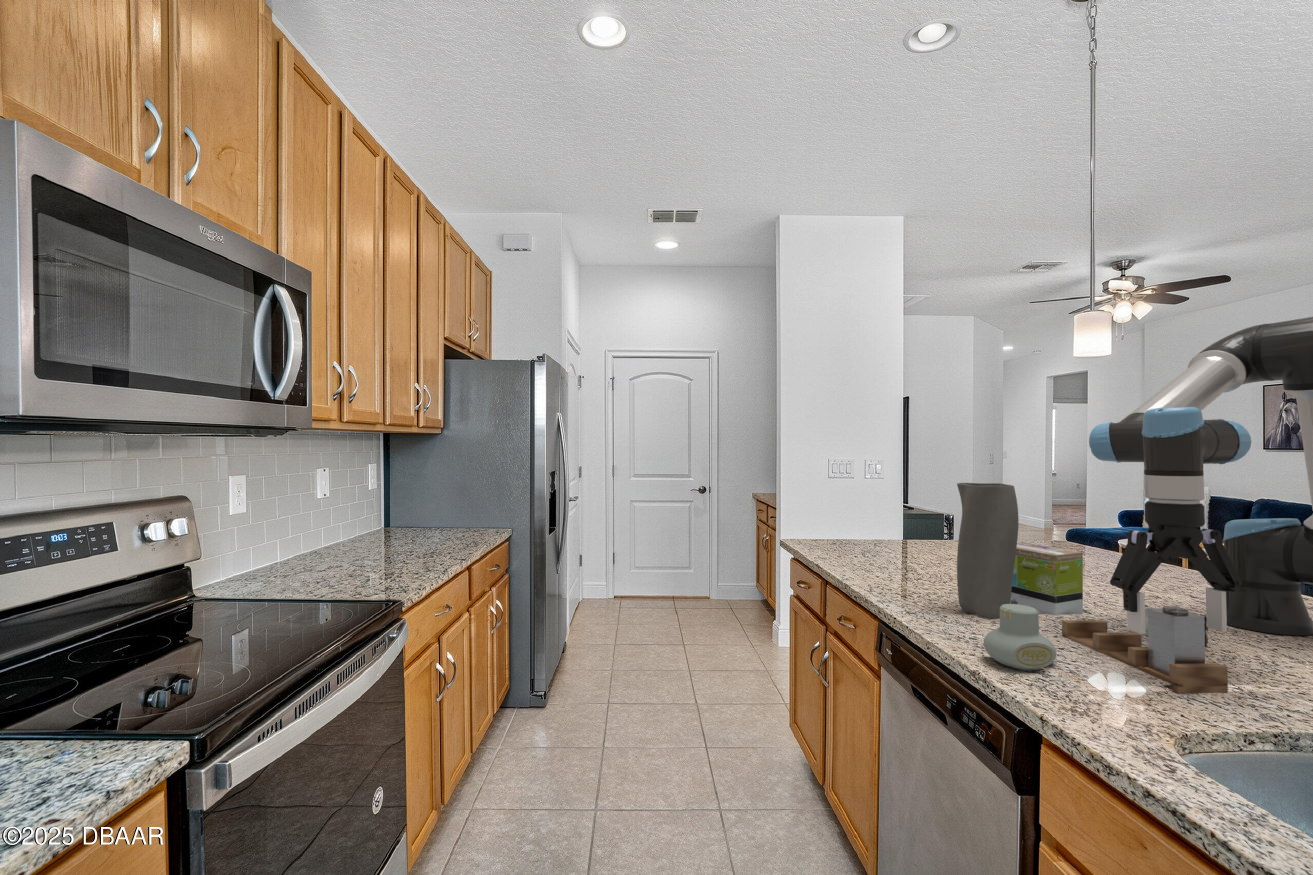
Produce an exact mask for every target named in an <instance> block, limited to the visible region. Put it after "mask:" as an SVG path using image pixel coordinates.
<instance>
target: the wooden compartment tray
mask: <svg viewBox="0 0 1313 875" xmlns="http://www.w3.org/2000/svg"><path fill="white" fill-rule="evenodd" d="M1061 634H1062V635H1061V636H1062V637H1064V638H1066V639H1068V640H1071V641H1074V642H1075V643H1077V644H1079V645H1081V646H1083V647H1087V648H1088V649H1091V650H1094V651H1095V652H1098V653H1100V654H1103V655H1104V656H1107V657H1109V658H1112V659H1114V660H1117V661H1118V662H1120V663H1123V664H1125V665H1128V666H1130V667H1132V668H1134V669H1136V670H1139V671H1141V672H1143V673H1146V674H1148V675H1149V676H1153V677H1155V678H1156V679H1159V680H1161V681H1163V682H1166V683H1168V684H1162V685H1160V686H1162V687H1164V688H1166V689H1168V690H1171V691H1173V692H1175V693H1178V694H1207V693H1208V694H1212V693H1214V694H1215V693H1216V694H1219V693H1220V694H1223V693H1225V694H1226V693H1227V694H1228V693H1229V692H1228V691H1229V689H1228V688H1229V686H1228V681H1229V679H1228V674H1229V673H1228V666H1227V665H1223V664H1221V663H1216V662H1215V663H1211V662H1210V663H1209V662H1208V663H1207V662H1205V664H1169V677H1168V676H1165V675H1163V674H1161V673H1158V672H1156V671H1154V670H1151V669H1149V668H1148V646H1143V645H1142V636H1143V635H1140V634H1137V633H1132V632H1108V622H1107V621H1104V620H1101V619H1097V620H1095V619H1091V620H1090V619H1089V620H1088V619H1085V620H1084V619H1083V620H1082V619H1081V620H1079V619H1078V620H1077V619H1074V620H1073V619H1070V620H1064V619H1063V620H1061Z"/></svg>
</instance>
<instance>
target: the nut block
mask: <svg viewBox="0 0 1313 875" xmlns="http://www.w3.org/2000/svg"><path fill="white" fill-rule="evenodd" d="M1147 647H1148V668H1149V669H1151V670H1154V671H1156V672H1158V673H1161V674H1163V675H1165V676H1168V677H1169V664H1206V647H1205V625H1204V616H1201V615H1200V614H1197V613H1194V612H1190V611H1189V610H1188V608H1185V607H1180V606H1179V607H1178V606H1171V605H1164V606H1162V607H1160V608H1159V607H1158V608H1157V607H1156V608H1153V607H1152V608H1148V636H1147Z"/></svg>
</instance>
